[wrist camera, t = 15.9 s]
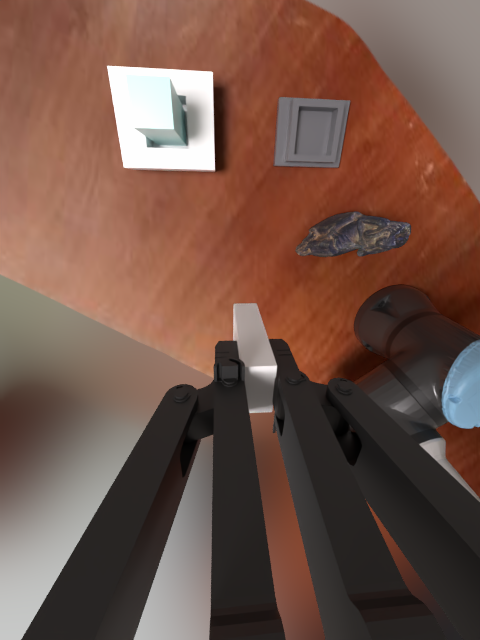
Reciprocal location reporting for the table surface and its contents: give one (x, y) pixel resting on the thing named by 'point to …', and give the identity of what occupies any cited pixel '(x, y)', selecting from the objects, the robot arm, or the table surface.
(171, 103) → the plug
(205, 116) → the port
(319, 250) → the carved stone figurine
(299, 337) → the table surface
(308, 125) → the grey socket
